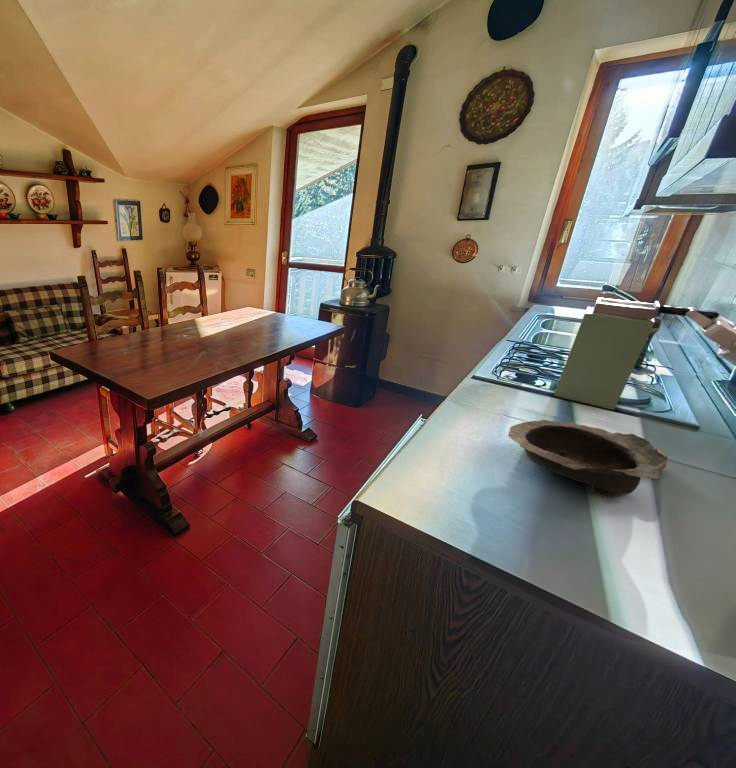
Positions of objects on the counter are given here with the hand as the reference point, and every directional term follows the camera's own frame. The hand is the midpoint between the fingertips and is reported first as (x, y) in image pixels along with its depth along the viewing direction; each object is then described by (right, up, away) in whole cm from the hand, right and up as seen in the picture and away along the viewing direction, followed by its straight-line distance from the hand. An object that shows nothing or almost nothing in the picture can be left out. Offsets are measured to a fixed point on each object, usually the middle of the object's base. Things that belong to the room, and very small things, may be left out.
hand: (687, 310), depth 101 cm
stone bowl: (-45, -38, -16) cm, 61 cm away
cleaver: (-4, -1, +5) cm, 7 cm away
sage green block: (-9, -23, +19) cm, 31 cm away
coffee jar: (+32, -11, +47) cm, 58 cm away
